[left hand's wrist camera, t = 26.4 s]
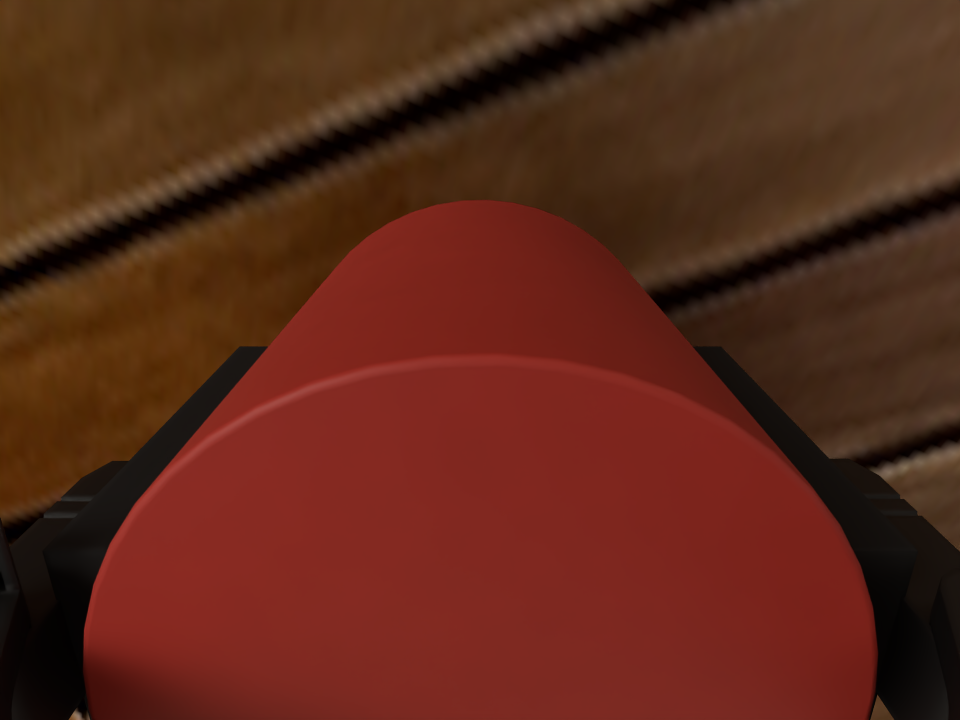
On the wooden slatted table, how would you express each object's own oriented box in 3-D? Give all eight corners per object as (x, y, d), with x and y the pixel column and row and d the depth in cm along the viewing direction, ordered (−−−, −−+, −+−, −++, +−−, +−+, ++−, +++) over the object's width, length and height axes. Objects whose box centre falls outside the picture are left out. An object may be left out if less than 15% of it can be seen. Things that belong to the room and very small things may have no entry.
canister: (230, 309, 15) (-103, 591, 6) (564, 125, 13) (708, 173, 5) (415, 575, 17) (353, 1026, 9) (710, 444, 16) (968, 832, 8)
